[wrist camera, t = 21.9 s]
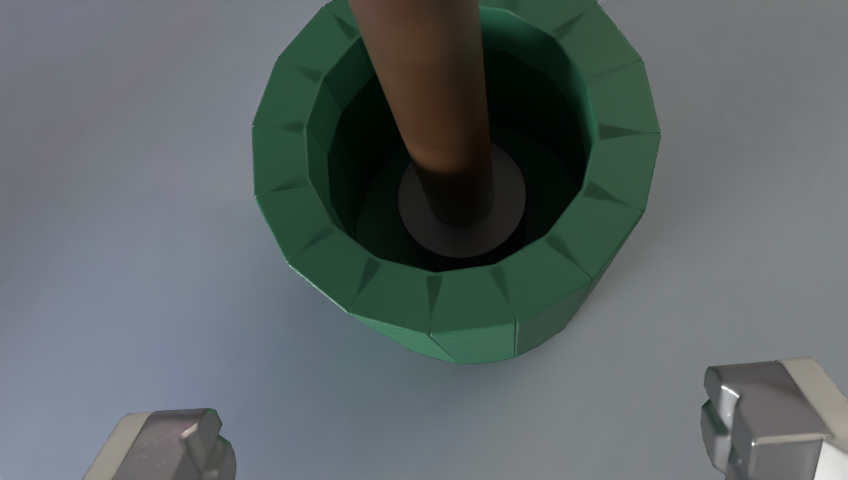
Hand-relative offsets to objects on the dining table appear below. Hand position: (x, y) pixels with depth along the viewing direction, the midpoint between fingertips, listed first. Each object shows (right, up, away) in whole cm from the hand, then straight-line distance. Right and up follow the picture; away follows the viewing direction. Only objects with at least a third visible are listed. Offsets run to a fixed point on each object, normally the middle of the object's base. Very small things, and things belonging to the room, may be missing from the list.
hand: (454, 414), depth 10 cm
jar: (+1, +3, +15) cm, 15 cm away
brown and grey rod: (+1, +3, +14) cm, 14 cm away
